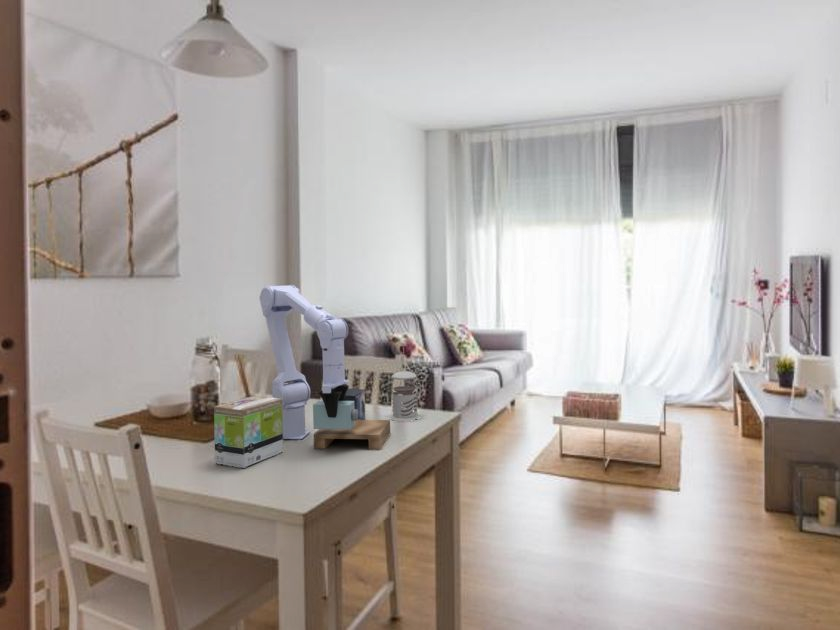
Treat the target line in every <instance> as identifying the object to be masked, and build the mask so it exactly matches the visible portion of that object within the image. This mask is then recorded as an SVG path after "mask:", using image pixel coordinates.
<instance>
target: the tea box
mask: <svg viewBox="0 0 840 630" xmlns="http://www.w3.org/2000/svg"><path fill="white" fill-rule="evenodd" d="M213 412H214V413H213V414H214V415H213V420H214V421H213V423H214V431H213V432H214V434H213V435H214V464H216V463H217V464H216V465H221V464H223V465H222V466H226V465H227V467H232V466H233V468H238V469H239V468H241V469H245V468H247V467H249V466H252V465H254V464H256V463H259V462H262V461H265V460H266V459H269V458H271V457H273V456H277V455H280V454H282V453H283V452H284V439H283V416H282V399H279V398H273V397H267V396H259V395H257V396H256V395H253V396H249V397H246V398H241V399H238V400H234V401H230V402H226V403H223V404H222V403H221V404H218V405H215V406H214V407H213ZM281 452H282V453H281ZM279 453H280V454H279Z"/></svg>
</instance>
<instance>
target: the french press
mask: <svg viewBox="0 0 840 630" xmlns="http://www.w3.org/2000/svg"><path fill="white" fill-rule="evenodd" d="M406 345H407V342H406V341H405V340H402V341H401V342H400V346H402V351H403V352H402V353H403V355H402V356H403V358H402V359H403V363H405V346H406ZM417 377H418V375H417V374H416V373H414V372H412V371H409V370H405V369H403V370H402V371H397V372H395V373H394V374H393V375H391V378H392V379H393V380H394V379H395V380H403V385H402V386H395V387H394V388H393V392H392V393H391V394H392V415H391V416H390V418H391V419H390V421H393V420H394V421H393V422H399V421H407V422H412V421H411V420H415V419H418V418H419V417H420V416H419V415H418V408H417V407H418V403H417V401H418V400H419V398H420V396H421V393H422V386H421V382H420V380H419V379H418V378H417ZM406 380H410V383H411V384H416V387H415V386H407V385H406V386H405V384H406V382H405V381H406ZM412 380H413V381H412ZM417 382H418V383H417ZM418 384H419V387H420V388H419V387H418ZM418 388H419V389H420V391H419V395H418V390H419V389H418ZM415 390H416V391H415ZM417 396H418V397H417ZM403 403H404V404H403ZM418 420H419V419H418ZM415 421H416V420H415Z"/></svg>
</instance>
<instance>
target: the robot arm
mask: <svg viewBox="0 0 840 630" xmlns="http://www.w3.org/2000/svg"><path fill="white" fill-rule="evenodd" d="M259 303H260V306H261V311H262V315H263V316H264V317H265V321H266V326H267V330H268V335H269V339H270V344H271V347H272V352H273V356H274V362H275V366H276V370H277V374H278V375H277V376H276V377H275V378H274V379H273V381H272V382H271V387H272V391H271V392H272V394H271V398H279V399H282V416H283V440H303V439H304V438H305V437H306V436H308V435H309V434H310V433H311V430H306V409H305V407H306V406H307V404H308V401H309V400H310V398H311V393H312V392H311V387H310V385H309V383H308V382H307V379H306V375H304V374H303V373H301V372H299V371H298V370H297V367H296V362H295V358H294V354H293V350H292V345H291V342H290V340H291V339H290V337H289V332H288V328H287V324H286V317H288V315H290V314H291V313H292V311H293V309H294V310H295V311H297V312H298V313H300V314H301V315H302V316H303V320H304V322H305V323H306V324H308V325H309V326H310V327H311V328H312V329H314V330H315V332H316V333H317V337H318V339H319V342H320V344H319V346H320V348H321V350H322V378H323V379H322V389H321V390H319V396H320V398H321V401H323V402H324V404H325V408H326V412H327V415H328V417H332V418H335V417H336V416H337V409H338V401H344V399H345V395H346V392H347V390H348V389H350V388H349V387H350V386H349V385H348V384H350V380H349V379H346V374H345V339H347V337H348V336H349V326H348V324H347V322H346V320H344V318H343V317H342V318H341V317H340V318H339V317H337V318H336V317H335V316H333V315H332V314H331V313H328V311H326V310H325V309H324V307H323V306H322V305H320V304H319V305H318V304H316V305H315V304H313V305H312V304H311V303H310V302H309V300H308V299H306V298H305V297H304V296H303V295H302V294H301V291H300V288H297V287H296V286H295V285H294V284H289V285H264V286H263V288H261V291H260V294H259ZM305 405H306V406H305Z"/></svg>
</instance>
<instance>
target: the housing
mask: <svg viewBox="0 0 840 630" xmlns="http://www.w3.org/2000/svg"><path fill="white" fill-rule="evenodd" d="M312 415H313V416H312V417H313V418H312V419H313V421H312V423H313V430H319V429H351V428H352V427H353V426H354V425H355V421H357V420H358V410H357V409H355V406H354V401H338V409H337V416H336V417H335V418H332V417H328V415H327V412H326V408H325V404H324V402H323V400H317V401H316V402H314V403H313V404H312Z"/></svg>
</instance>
